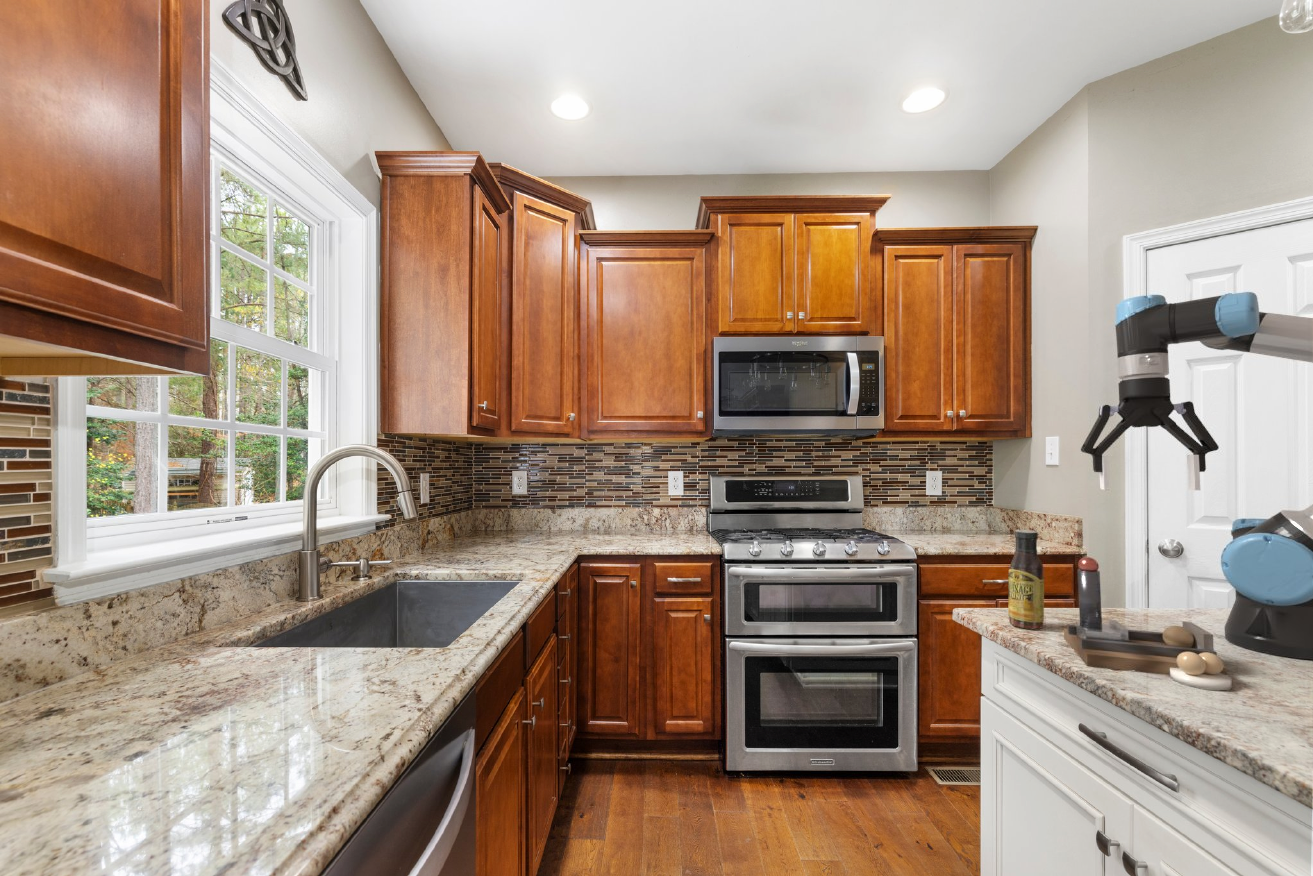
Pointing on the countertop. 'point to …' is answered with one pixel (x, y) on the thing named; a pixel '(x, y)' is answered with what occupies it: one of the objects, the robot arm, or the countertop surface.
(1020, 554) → the sauce bottle
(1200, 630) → the tray
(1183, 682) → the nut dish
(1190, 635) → the walnut
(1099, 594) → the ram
